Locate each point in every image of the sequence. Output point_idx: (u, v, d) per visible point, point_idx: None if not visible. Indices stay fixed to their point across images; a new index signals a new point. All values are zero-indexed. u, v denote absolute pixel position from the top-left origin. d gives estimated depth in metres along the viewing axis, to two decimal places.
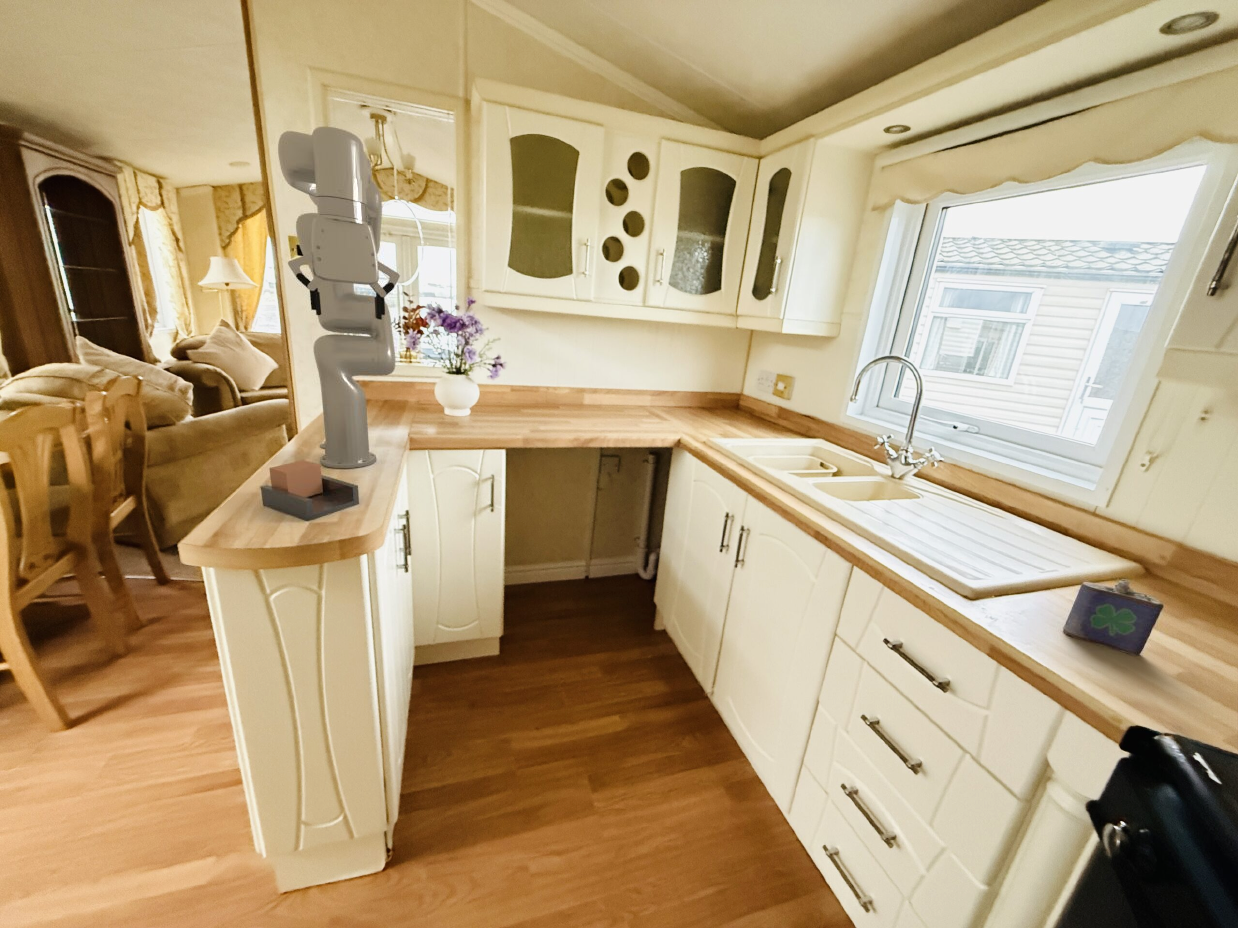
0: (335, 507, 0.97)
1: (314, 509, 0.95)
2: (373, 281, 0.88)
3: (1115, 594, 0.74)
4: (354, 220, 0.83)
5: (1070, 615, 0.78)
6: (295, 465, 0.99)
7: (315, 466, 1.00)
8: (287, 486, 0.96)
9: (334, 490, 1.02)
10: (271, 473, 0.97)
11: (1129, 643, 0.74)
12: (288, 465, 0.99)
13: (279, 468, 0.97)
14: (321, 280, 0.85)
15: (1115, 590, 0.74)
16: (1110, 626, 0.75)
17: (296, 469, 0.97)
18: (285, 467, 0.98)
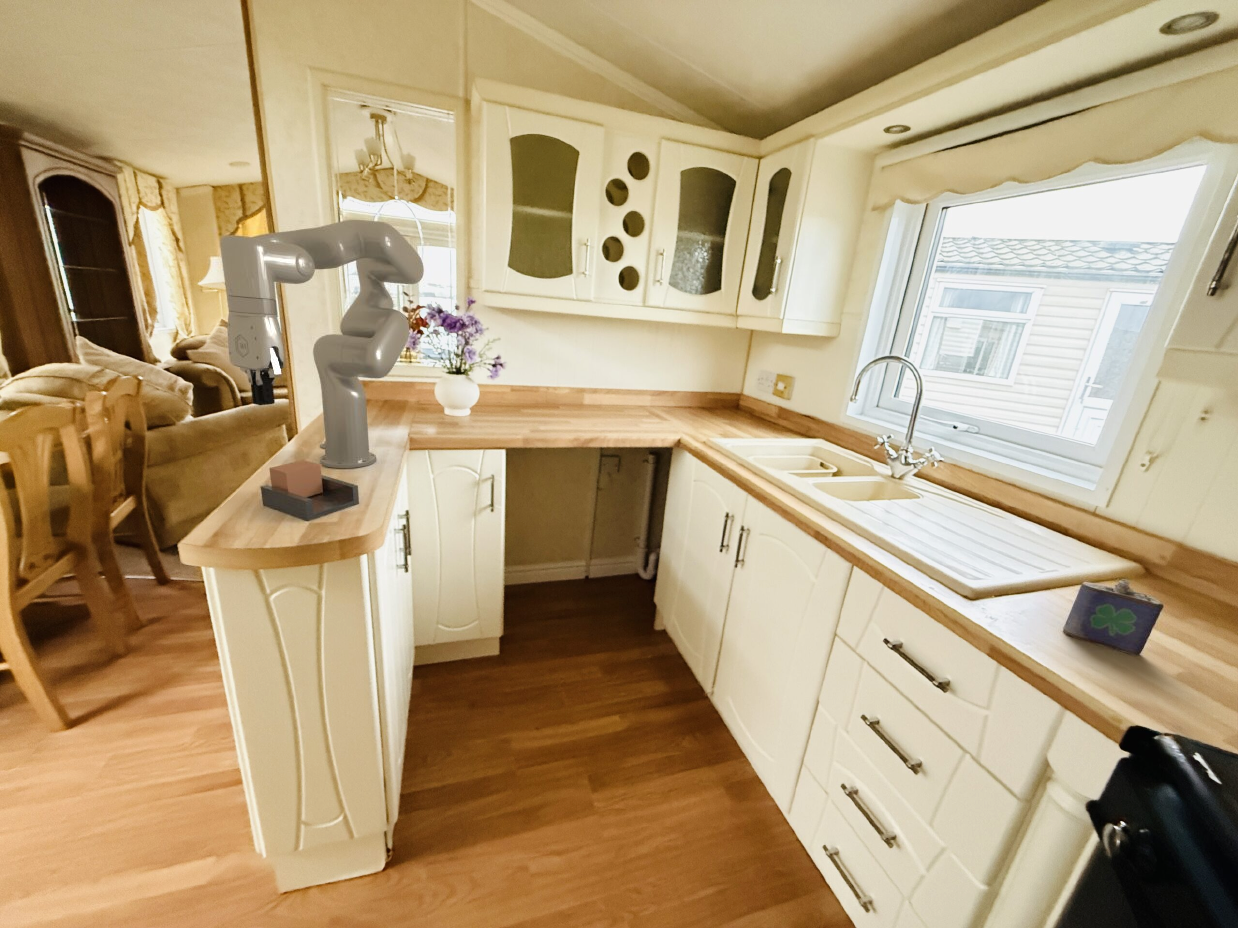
0: (335, 507, 0.97)
1: (314, 509, 0.95)
2: None
3: (1115, 594, 0.74)
4: None
5: (1070, 615, 0.78)
6: (295, 465, 0.99)
7: (315, 466, 1.00)
8: (287, 486, 0.96)
9: (334, 490, 1.02)
10: (271, 473, 0.97)
11: (1129, 643, 0.74)
12: (288, 465, 0.99)
13: (279, 468, 0.97)
14: None
15: (1115, 590, 0.74)
16: (1110, 626, 0.75)
17: (296, 469, 0.97)
18: (285, 467, 0.98)
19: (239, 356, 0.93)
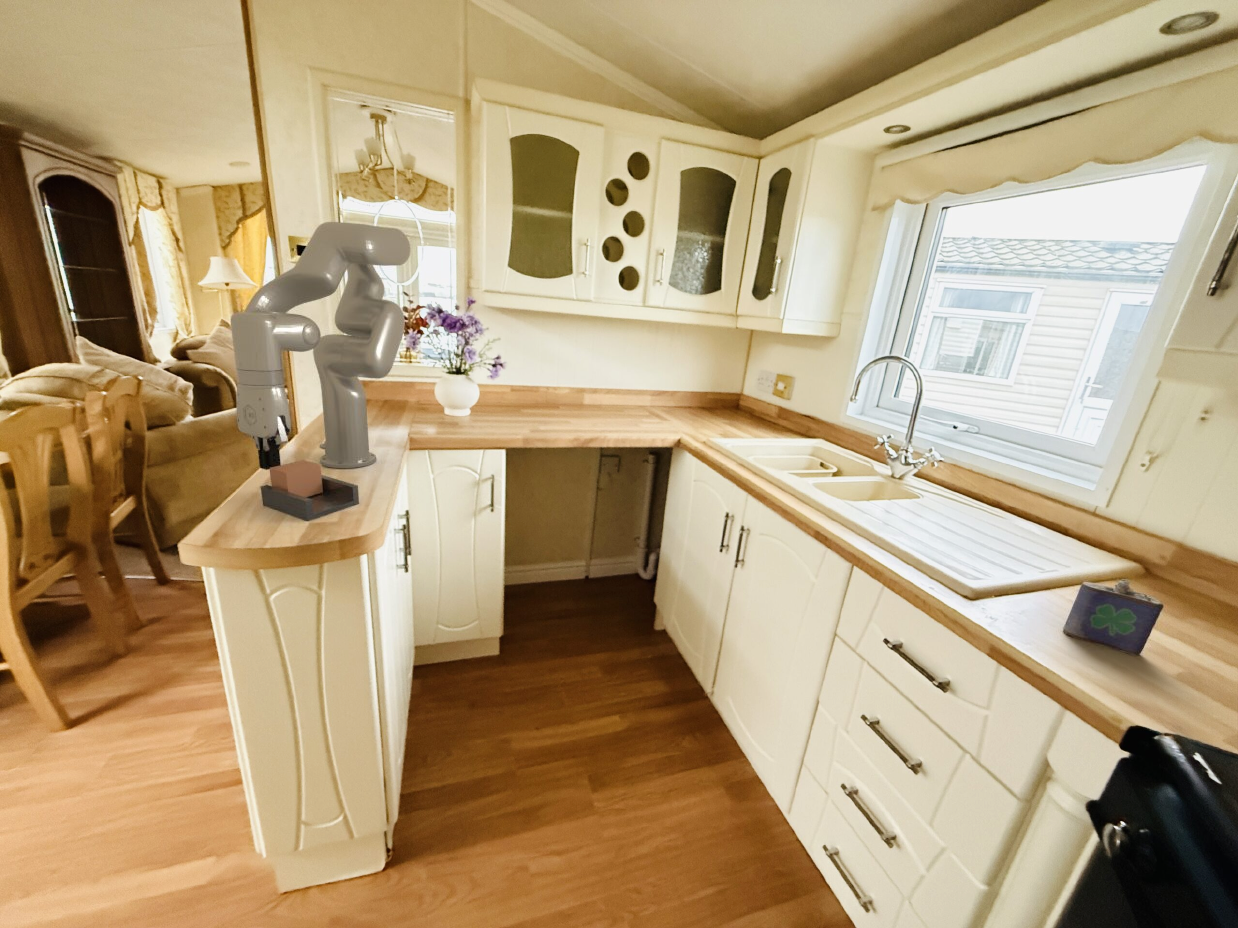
0: (335, 507, 0.97)
1: (314, 509, 0.95)
2: None
3: (1115, 594, 0.74)
4: None
5: (1070, 615, 0.78)
6: (295, 465, 0.99)
7: (315, 466, 1.00)
8: (287, 486, 0.96)
9: (334, 490, 1.02)
10: (271, 473, 0.97)
11: (1129, 643, 0.74)
12: (288, 465, 0.99)
13: (279, 468, 0.97)
14: None
15: (1115, 590, 0.74)
16: (1110, 626, 0.75)
17: (296, 469, 0.97)
18: (285, 467, 0.98)
19: (247, 424, 0.97)
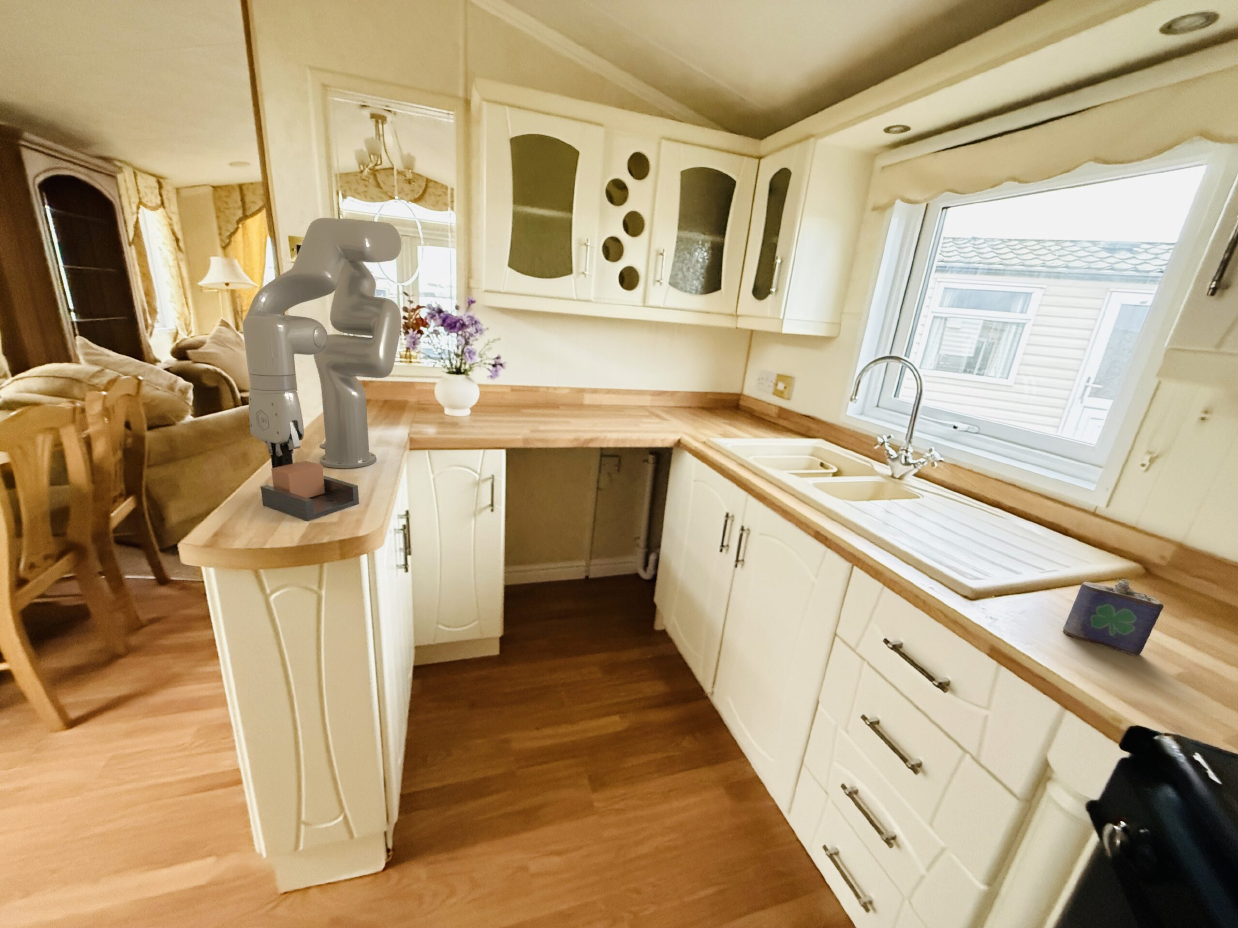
0: (335, 507, 0.97)
1: (314, 509, 0.95)
2: None
3: (1115, 594, 0.74)
4: None
5: (1070, 615, 0.78)
6: (297, 466, 0.99)
7: (317, 467, 1.00)
8: (289, 487, 0.95)
9: (334, 490, 1.02)
10: (273, 474, 0.97)
11: (1129, 643, 0.74)
12: (290, 466, 0.99)
13: (281, 468, 0.97)
14: None
15: (1115, 590, 0.74)
16: (1110, 626, 0.75)
17: (298, 470, 0.97)
18: (287, 468, 0.97)
19: (260, 429, 0.96)
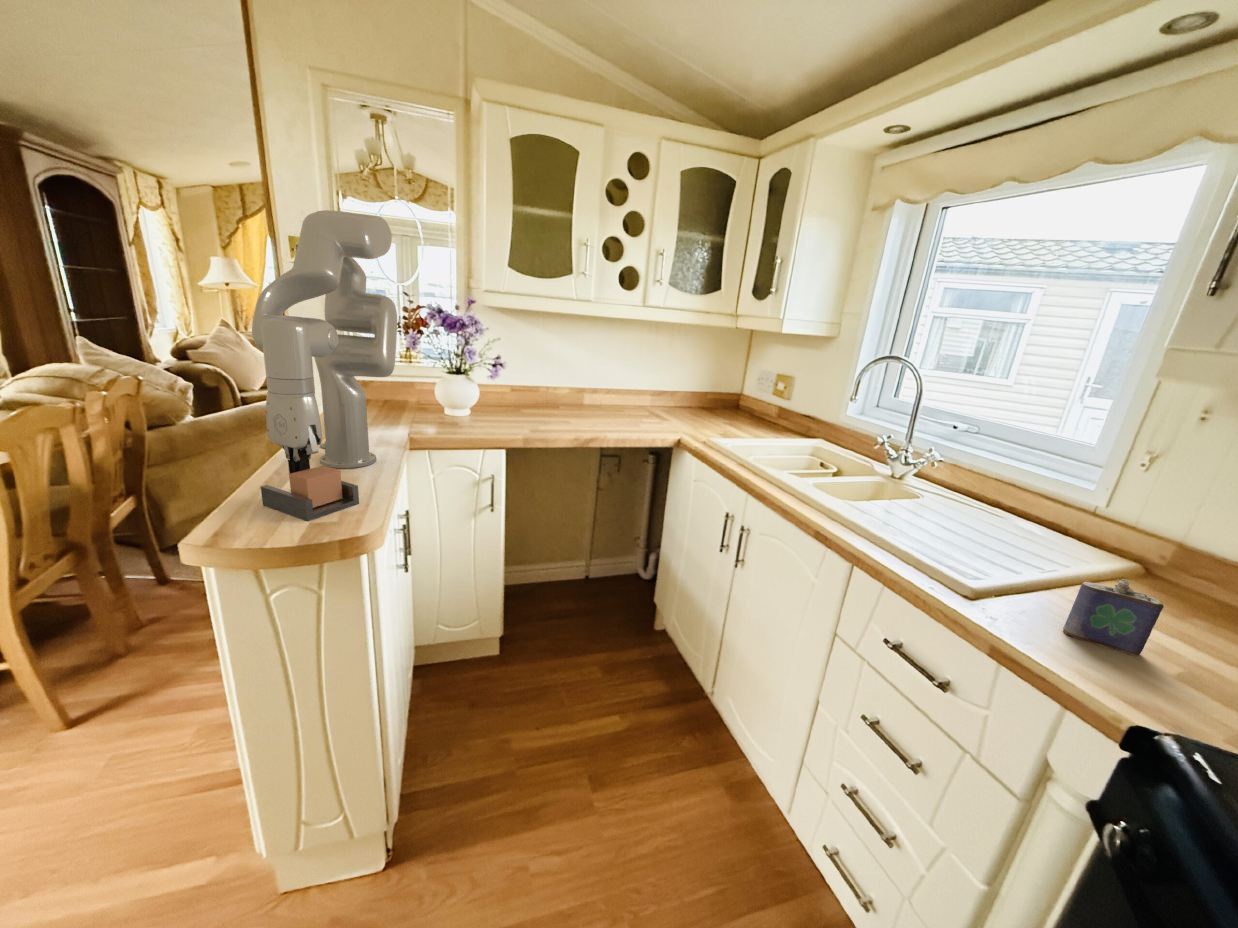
0: (335, 507, 0.97)
1: (314, 509, 0.95)
2: None
3: (1115, 594, 0.74)
4: None
5: (1070, 615, 0.78)
6: (315, 471, 0.97)
7: (335, 472, 0.98)
8: (307, 493, 0.93)
9: None
10: (291, 479, 0.95)
11: (1129, 643, 0.74)
12: (308, 471, 0.97)
13: (299, 474, 0.95)
14: None
15: (1115, 590, 0.74)
16: (1110, 626, 0.75)
17: (316, 475, 0.95)
18: (305, 473, 0.95)
19: (277, 434, 0.94)
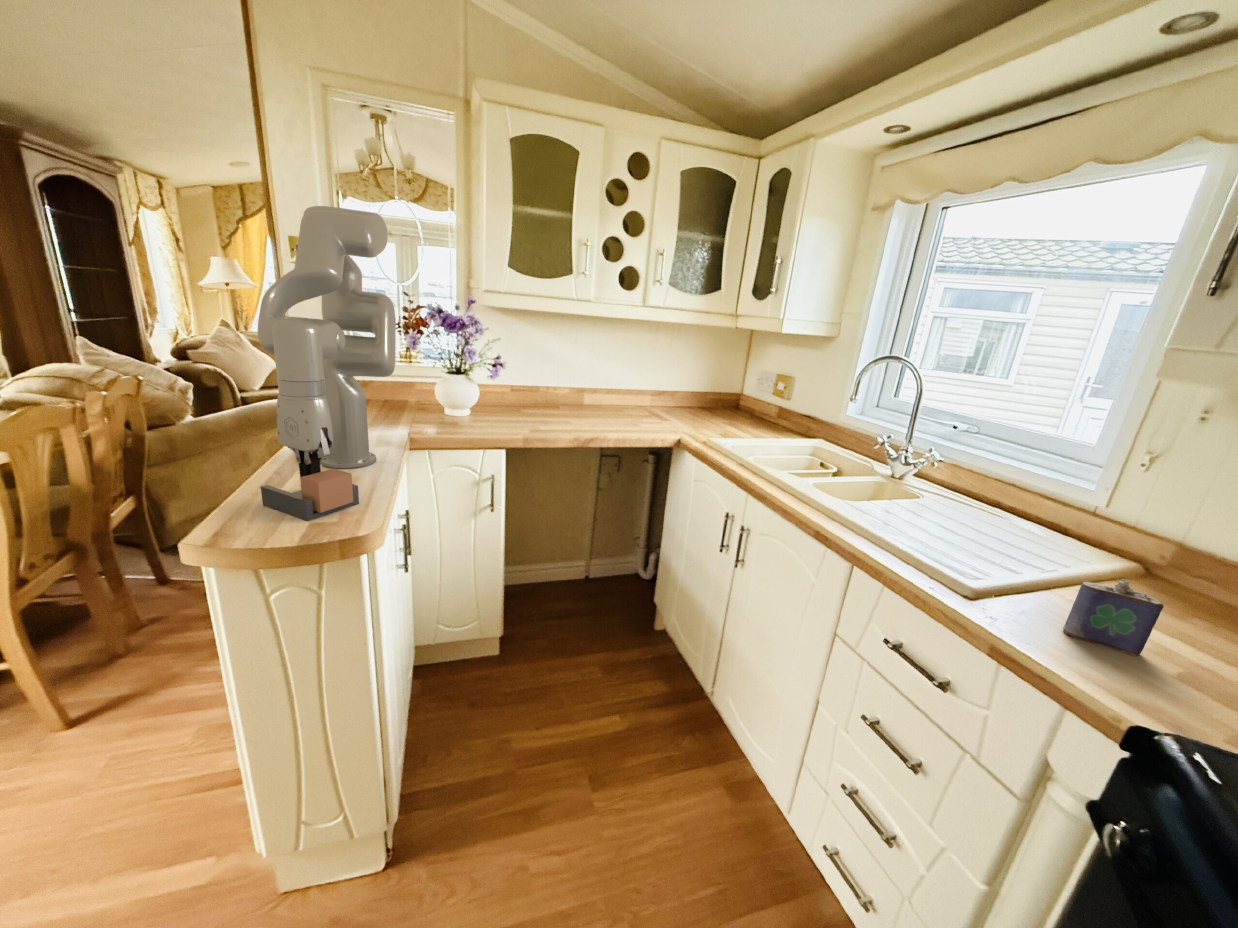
0: None
1: None
2: None
3: (1115, 594, 0.74)
4: None
5: (1070, 615, 0.78)
6: (326, 474, 0.96)
7: (346, 475, 0.97)
8: (318, 496, 0.92)
9: None
10: (302, 483, 0.93)
11: (1129, 643, 0.74)
12: (319, 474, 0.96)
13: (310, 477, 0.94)
14: None
15: (1115, 590, 0.74)
16: (1110, 626, 0.75)
17: (328, 479, 0.94)
18: (316, 476, 0.94)
19: (288, 437, 0.93)
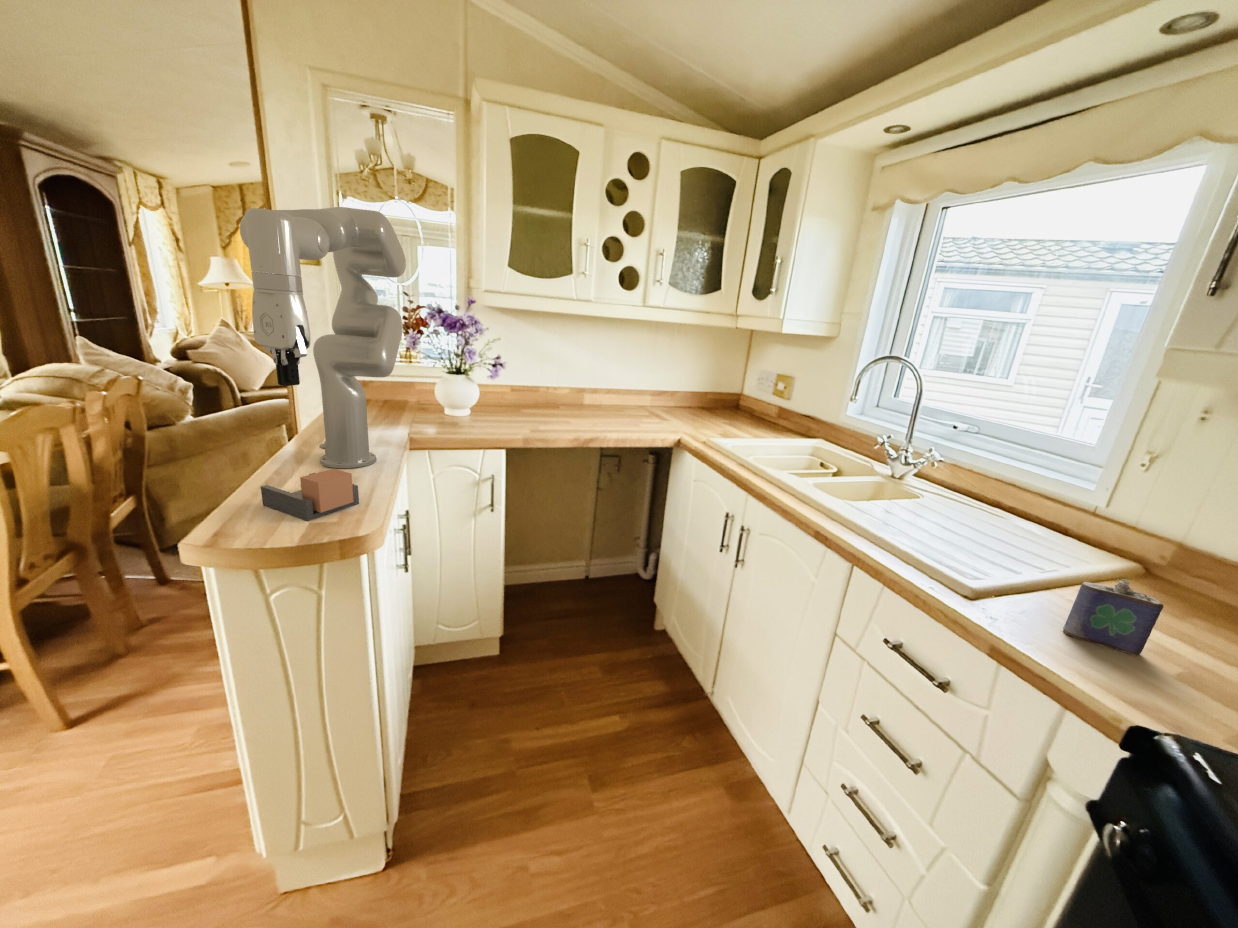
0: None
1: None
2: None
3: (1115, 594, 0.74)
4: None
5: (1070, 615, 0.78)
6: (326, 474, 0.96)
7: (346, 475, 0.97)
8: (318, 496, 0.92)
9: None
10: (302, 483, 0.93)
11: (1129, 643, 0.74)
12: (319, 474, 0.96)
13: (310, 477, 0.94)
14: None
15: (1115, 590, 0.74)
16: (1110, 626, 0.75)
17: (328, 479, 0.94)
18: (316, 476, 0.94)
19: (264, 335, 0.91)
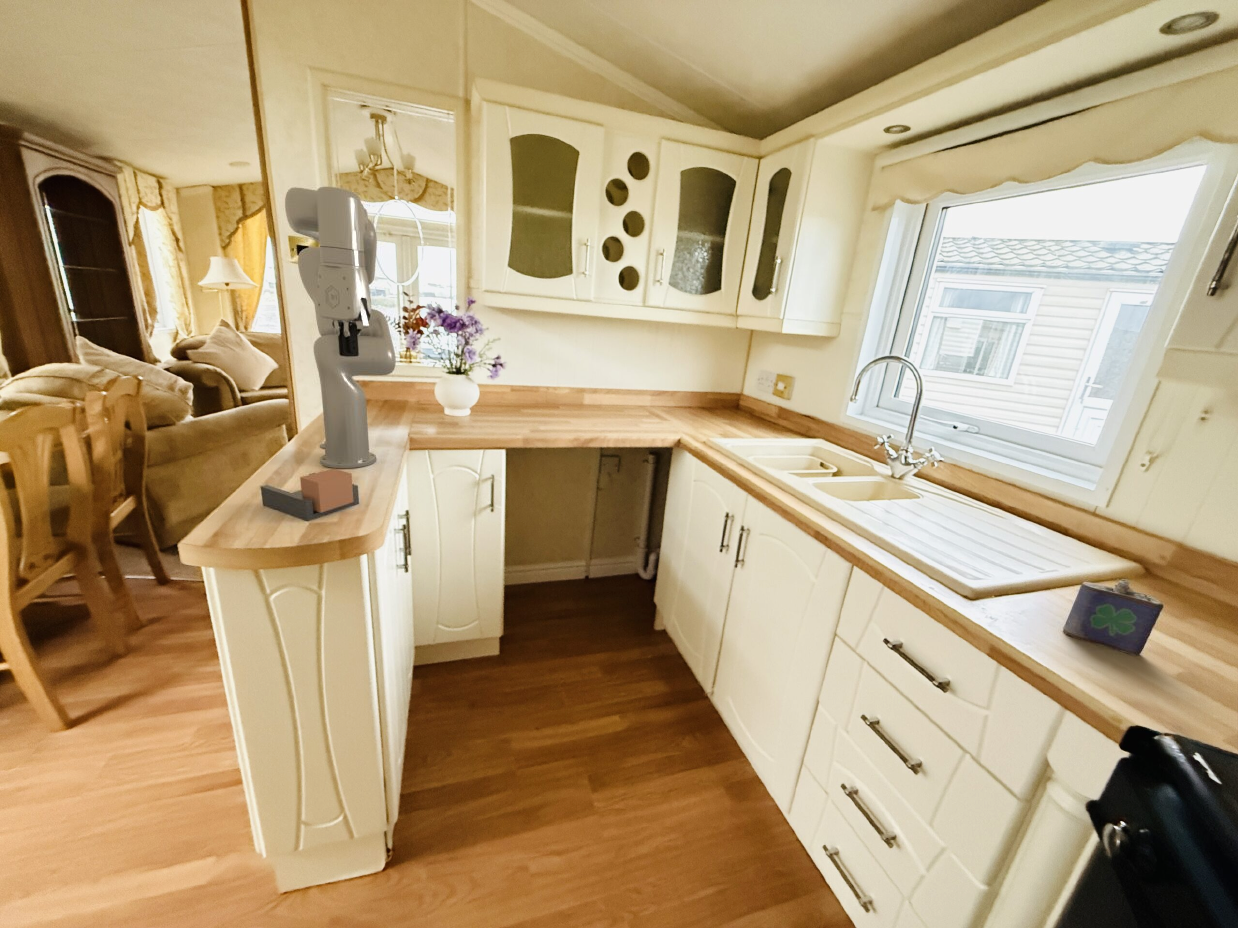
0: None
1: None
2: None
3: (1115, 594, 0.74)
4: None
5: (1070, 615, 0.78)
6: (326, 474, 0.96)
7: (346, 475, 0.97)
8: (318, 496, 0.92)
9: None
10: (302, 483, 0.93)
11: (1129, 643, 0.74)
12: (319, 474, 0.96)
13: (310, 477, 0.94)
14: None
15: (1115, 590, 0.74)
16: (1110, 626, 0.75)
17: (328, 479, 0.94)
18: (316, 476, 0.94)
19: (329, 307, 0.96)
